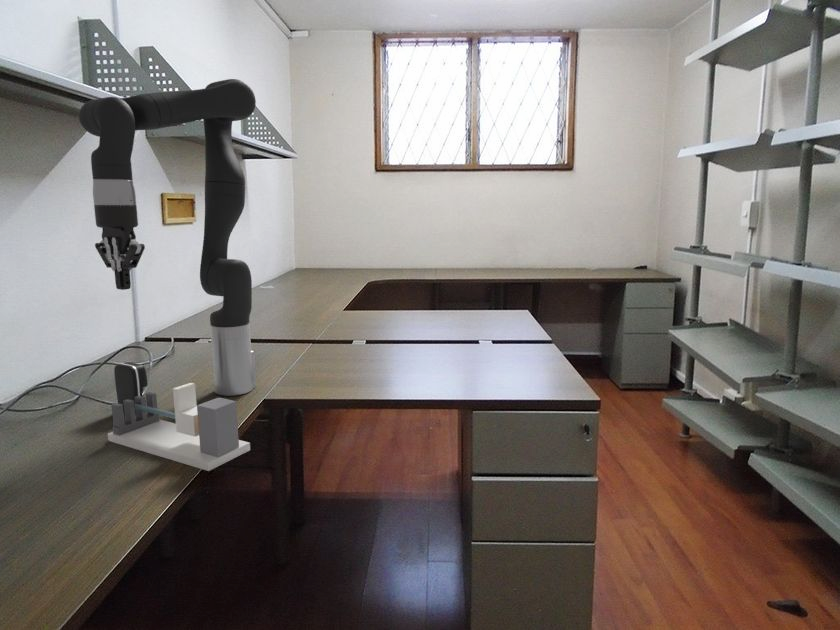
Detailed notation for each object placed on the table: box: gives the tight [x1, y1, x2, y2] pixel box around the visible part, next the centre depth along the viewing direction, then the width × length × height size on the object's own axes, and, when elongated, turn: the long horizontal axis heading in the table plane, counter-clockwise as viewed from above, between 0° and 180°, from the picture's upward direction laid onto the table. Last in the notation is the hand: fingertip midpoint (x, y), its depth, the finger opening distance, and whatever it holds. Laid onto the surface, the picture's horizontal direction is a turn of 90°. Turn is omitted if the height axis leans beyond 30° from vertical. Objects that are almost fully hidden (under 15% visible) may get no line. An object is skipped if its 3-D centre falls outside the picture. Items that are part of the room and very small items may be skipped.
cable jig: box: [107, 391, 251, 472], centre depth 109 cm, size 10×28×10 cm, turn 62°
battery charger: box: [113, 361, 148, 414], centre depth 127 cm, size 7×4×11 cm, turn 63°
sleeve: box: [172, 382, 199, 437], centre depth 106 cm, size 4×5×8 cm
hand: (123, 289), depth 116 cm, fingers closed
